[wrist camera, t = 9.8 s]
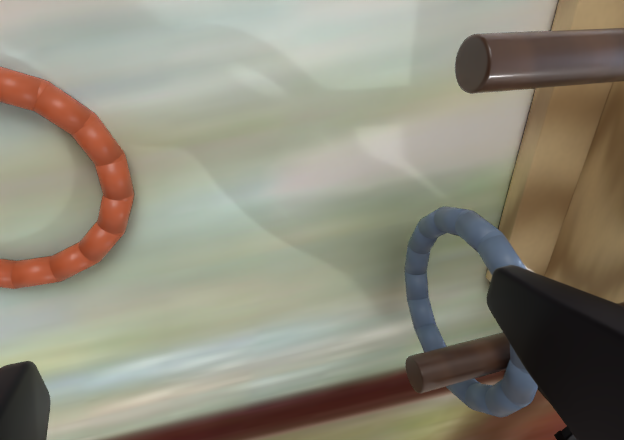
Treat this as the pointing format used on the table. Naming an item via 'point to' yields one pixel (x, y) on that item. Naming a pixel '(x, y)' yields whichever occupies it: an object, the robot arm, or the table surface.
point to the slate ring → (493, 251)
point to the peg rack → (552, 165)
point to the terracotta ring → (109, 169)
